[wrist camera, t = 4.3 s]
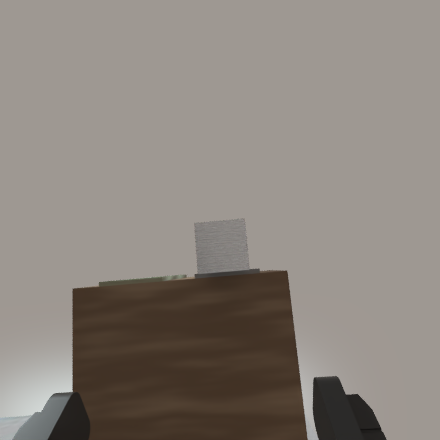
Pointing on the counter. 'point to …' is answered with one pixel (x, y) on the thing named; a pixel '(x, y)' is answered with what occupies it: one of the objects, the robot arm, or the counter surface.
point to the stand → (189, 358)
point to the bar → (221, 246)
